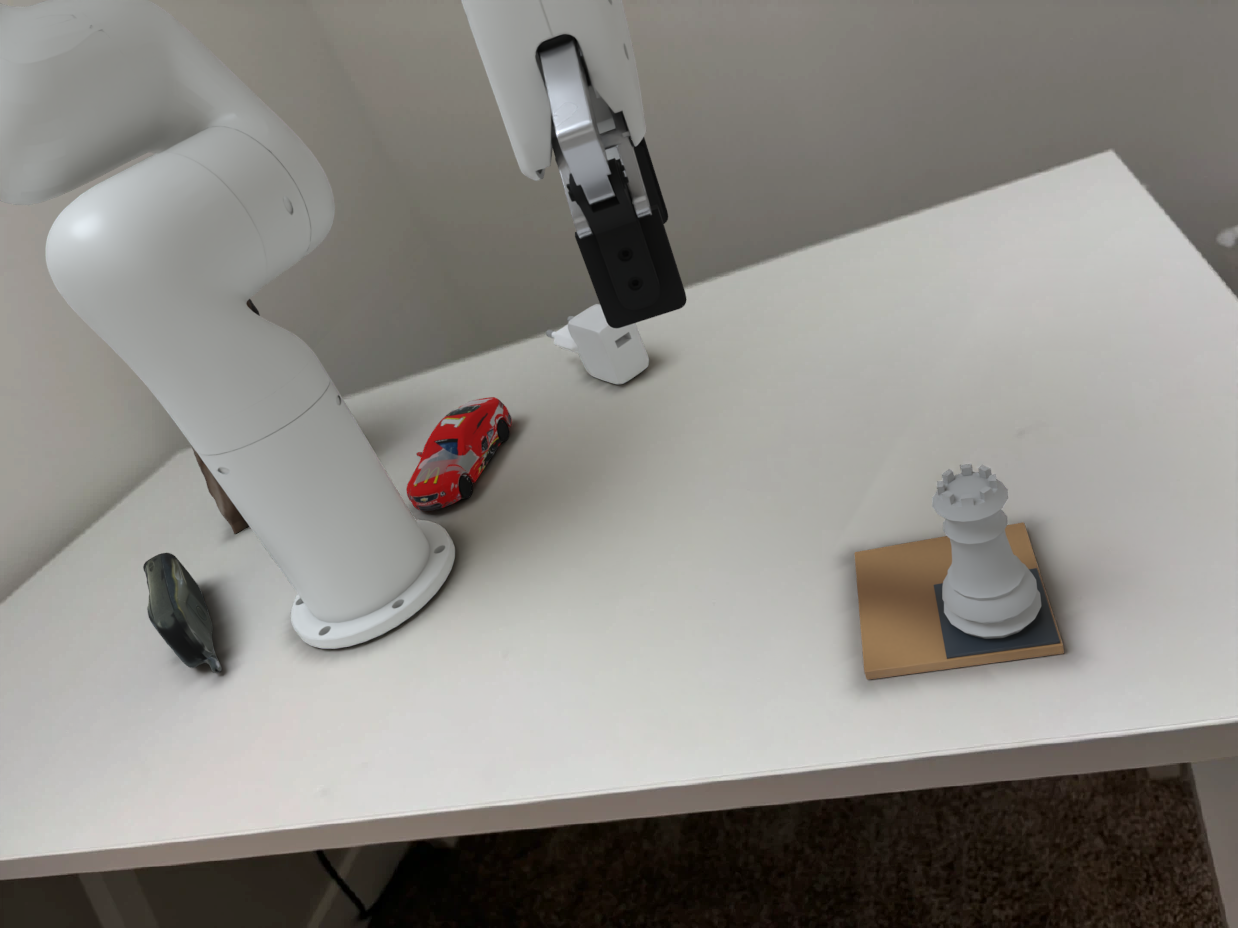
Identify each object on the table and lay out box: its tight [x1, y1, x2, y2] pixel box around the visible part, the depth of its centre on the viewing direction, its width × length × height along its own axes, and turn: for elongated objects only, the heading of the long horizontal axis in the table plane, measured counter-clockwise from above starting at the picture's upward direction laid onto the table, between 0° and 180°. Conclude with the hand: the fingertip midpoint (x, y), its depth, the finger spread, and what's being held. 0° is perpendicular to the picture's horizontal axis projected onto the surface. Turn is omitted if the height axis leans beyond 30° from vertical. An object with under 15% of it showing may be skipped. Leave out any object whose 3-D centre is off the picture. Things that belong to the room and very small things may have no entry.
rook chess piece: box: [931, 463, 1041, 639], centre depth 44 cm, size 4×4×8 cm
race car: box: [406, 396, 513, 512], centre depth 79 cm, size 13×5×4 cm, turn 160°
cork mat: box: [853, 521, 1065, 681], centre depth 48 cm, size 9×9×1 cm
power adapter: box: [545, 303, 650, 385], centre depth 85 cm, size 11×5×6 cm, turn 36°
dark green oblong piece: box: [142, 552, 222, 674], centre depth 72 cm, size 5×3×15 cm
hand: (642, 268), depth 41 cm, fingers open, 9 cm apart
